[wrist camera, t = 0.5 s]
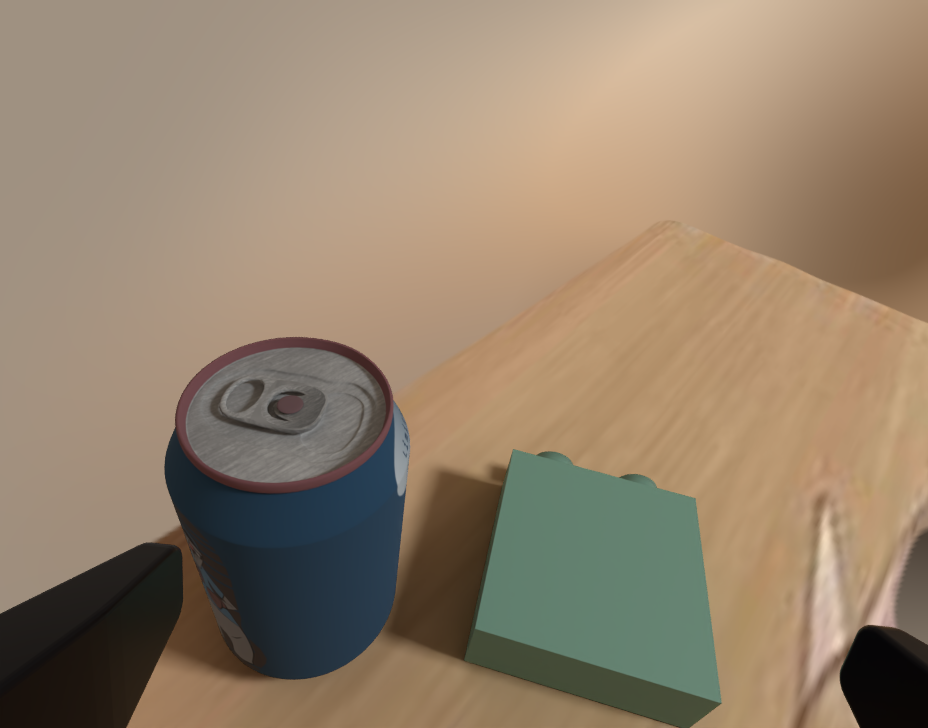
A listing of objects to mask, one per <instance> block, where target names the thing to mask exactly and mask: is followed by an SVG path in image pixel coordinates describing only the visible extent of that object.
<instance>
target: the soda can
mask: <svg viewBox="0 0 928 728" xmlns="http://www.w3.org/2000/svg"><path fill="white" fill-rule="evenodd" d="M175 426H176V427H175V429H174V432H173V434H172V437H171V439H170V441H169V445H168V448H167V451H166V457H165V479H166V484H167V488H168V491H169V494H170V496H171V499H172V502H173V504H174V507H175V510H176V513H177V515H178V518H179V521H180V523H181V526H182V529H183V531H184V534H185V537H186V540H187V542H188V545H189V548H190V550H191V553H192V556H193V558H194V561H195V564H196V567H197V569H198V572H199V575H200V577H201V580H202V583H203V585H204V588H205V591H206V593H207V596H208V599H209V602H210V604H211V607H212V610H213V612H214V615H215V618H216V620H217V623H218V626H219V629H220V631H221V634H222V636H223V638H224V640H225V642H226V644H227V646H228V647H229V649H230V650H231V651H232V652H233V654H234V655H235V656H236V657H237V658H238V659H239V660H240V661H241V662H243V663H244V664H245V665H247V666H248V667H250V668H251V669H253V670H255V671H257V672H259V673H262V674H264V675H267V676H270V677H275V678H280V679H294V680H295V679H307V678H313V677H317V676H321V675H324V674H327V673H330V672H332V671H334V670H336V669H339V668H341V667H342V666H344V665H346V664H347V663H349V662H350V661H352V660H353V659H355V658H356V657H357V656H359V655H360V654H361V653H362V652H363V651H364V650H365V649H366V648H367V647H368V646H369V645H370V644H371V643H372V642H373V641H374V639H375V638H376V637H377V636H378V634H379V633H380V631H381V630H382V628H383V626H384V625H385V623H386V621H387V619H388V616H389V614H390V611H391V608H392V605H393V601H394V596H395V589H396V580H397V570H398V560H399V551H400V541H401V532H402V522H403V512H404V503H405V493H406V483H407V474H408V464H409V455H410V438H409V432H408V428H407V425H406V422H405V419H404V417H403V415H402V413H401V411H400V410H399V408H398V406H397V405H396V403H395V402H394V400H393V395H392V391H391V388H390V385H389V383H388V381H387V379H386V377H385V376H384V374H383V373H382V371H381V370H380V369H379V368H378V367H377V366H376V365H375V364H374V363H373V362H372V361H371V360H370V359H369V358H367V357H366V356H365V355H363V354H362V353H360V352H358V351H357V350H355V349H353V348H351V347H348V346H346V345H343V344H340V343H337V342H333V341H328V340H323V339H316V338H307V337H306V338H305V337H286V338H275V339H269V340H264V341H259V342H255V343H252V344H248V345H245V346H243V347H240V348H237V349H235V350H232V351H230V352H228V353H226V354H224V355H222V356H220V357H219V358H217V359H215V360H214V361H212V362H211V363H210V364H208V365H207V366H206V367H204V368H203V369H202V370H201V371H200V372H199V373H198V374H196V376H195V377H194V378H193V379H192V380H191V381H190V382H189V384H188V385H187V387H186V388H185V390H184V391H183V393H182V395H181V397H180V400H179V402H178V406H177V410H176V416H175Z"/></svg>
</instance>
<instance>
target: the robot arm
mask: <svg viewBox="0 0 928 728" xmlns="http://www.w3.org/2000/svg"><path fill="white" fill-rule="evenodd" d="M182 603H183V570H182V553H181V550H180V549H179V548H178V547H177V546H175V545H168V544H159V543H143V544H141V545H138V546H136V547H135V548H133V549H130V550H128V551H126V552H124V553H122V554H120V555H118V556H116V557H114V558H112V559H110V560H108V561H106V562H104V563H102V564H100V565H98V566H96V567H94V568H92V569H90V570H88V571H86V572H84V573H82V574H80V575H78V576H76V577H74V578H72V579H70V580H67V581H66V582H64V583H61V584H59V585H57V586H55V587H53V588H51V589H49V590H47V591H45V592H43V593H41V594H39V595H37V596H35V597H33V598H31V599H29V600H27V601H25V602H23V603H21V604H19V605H17V606H15V607H13V608H11V609H9V610H7V611H5V612H3V613H1V614H0V728H126V727H127V725H128V723H129V721H130V719H131V717H132V715H133V713H134V711H135V708H136V706H137V704H138V702H139V700H140V698H141V696H142V694H143V692H144V690H145V687H146V685H147V683H148V681H149V679H150V677H151V675H152V673H153V671H154V668H155V666H156V664H157V662H158V660H159V658H160V656H161V654H162V652H163V650H164V647H165V645H166V643H167V641H168V639H169V637H170V635H171V633H172V631H173V629H174V626H175V624H176V622H177V620H178V618H179V615H180V612H181V608H182ZM840 684H841V688H842V691H843V693H844V696H845V698H846V700H847V702H848V704H849V706H850V708H851V710H852V712H853V714H854V717H855V719H856V721H857V723H858V725H859V727H860V728H928V645H927V644H925V643H923V642H922V641H920V640H918V639H916V638H915V637H913V636H911V635H909V634H908V633H906V632H904V631H902V630H900V629H897V628H893V627H885V626H876V625H867V626H864V627H862V628H861V629H860V630H859V631H858V633H857V635H856V637H855V639H854V641H853V643H852V645H851V648H850V650H849V652H848V654H847V656H846V659H845V661H844V663H843V665H842V667H841V670H840Z"/></svg>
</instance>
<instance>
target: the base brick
mask: <svg viewBox="0 0 928 728" xmlns="http://www.w3.org/2000/svg"><path fill="white" fill-rule="evenodd" d="M464 661H467V662H470V663H474V664H477V665H480V666H483V667H486V668H490V669H493V670H496V671H499V672H503V673H506V674H509V675H512V676H516V677H519V678H522V679H525V680H529V681H532V682H535V683H538V684H542V685H545V686H548V687H551V688H555V689H558V690H561V691H564V692H567V693H571V694H574V695H577V696H580V697H584V698H587V699H590V700H593V701H597V702H600V703H603V704H606V705H610V706H613V707H616V708H619V709H623V710H626V711H629V712H632V713H636V714H639V715H642V716H645V717H649V718H652V719H655V720H658V721H661V722H665V723H668V724H671V725H674V726H678V727H681V728H690V727H691V726H692V725H694V724H695V723H696V722H698V721H699V720H700V719H702V718H703V717H704V716H705V715H707V714H708V713H709V712H711V711H712V710H713V709H715V708H716V707H717V706H719V705H720V704H721V703H722V702H721V695H720V687H719V679H718V671H717V663H716V656H715V648H714V640H713V632H712V624H711V617H710V609H709V601H708V593H707V585H706V577H705V570H704V562H703V554H702V546H701V538H700V531H699V523H698V515H697V507H696V499H695V498H692V497H688V496H685V495H681V494H677V493H674V492H670V491H666V490H663V489H659V488H657V486H656V484H655V483H654V482H653V481H652V480H651V479H650V478H648V477H645V476H643V475H638V474H628V475H624V476H621V477H619V478H618V477H614V476H611V475H607V474H603V473H600V472H596V471H592V470H588V469H585V468H581V467H577V466H574V465H573V464H572V462H571V460H570V459H569V458H568V457H566V456H565V455H563V454H560V453H557V452H542V453H539V454H537V455H533V454H529V453H526V452H522V451H518V450H514V449H513V452H512V455H511V459H510V462H509V465H508V469H507V472H506V475H505V479H504V482H503V485H502V490H501V494H500V499H499V503H498V508H497V512H496V517H495V522H494V526H493V531H492V535H491V540H490V544H489V549H488V554H487V558H486V563H485V567H484V572H483V576H482V581H481V585H480V590H479V595H478V599H477V604H476V608H475V613H474V617H473V622H472V627H471V631H470V636H469V640H468V645H467V649H466V654H465V658H464Z"/></svg>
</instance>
